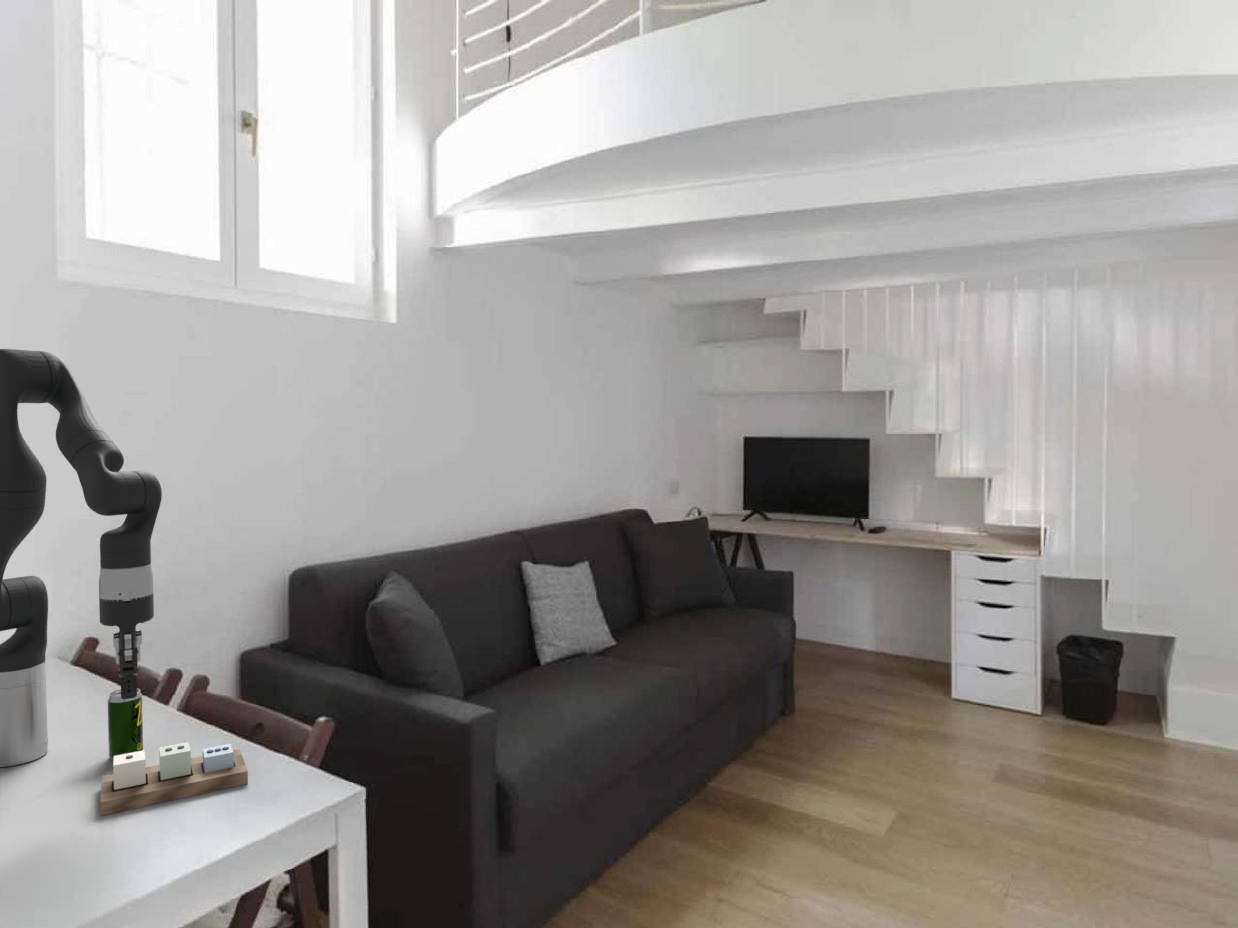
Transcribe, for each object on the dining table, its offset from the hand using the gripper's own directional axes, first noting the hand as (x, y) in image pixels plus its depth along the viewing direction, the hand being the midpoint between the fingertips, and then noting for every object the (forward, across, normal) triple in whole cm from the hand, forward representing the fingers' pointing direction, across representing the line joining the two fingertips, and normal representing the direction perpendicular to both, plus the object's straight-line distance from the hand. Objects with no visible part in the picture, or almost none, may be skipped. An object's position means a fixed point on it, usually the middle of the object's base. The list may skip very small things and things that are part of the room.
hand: (129, 697), depth 128 cm
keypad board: (+16, 0, +6) cm, 18 cm away
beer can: (+17, -19, 0) cm, 25 cm away
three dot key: (+16, 0, +13) cm, 20 cm away
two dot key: (+14, 0, +6) cm, 15 cm away
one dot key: (+14, 0, 0) cm, 14 cm away
